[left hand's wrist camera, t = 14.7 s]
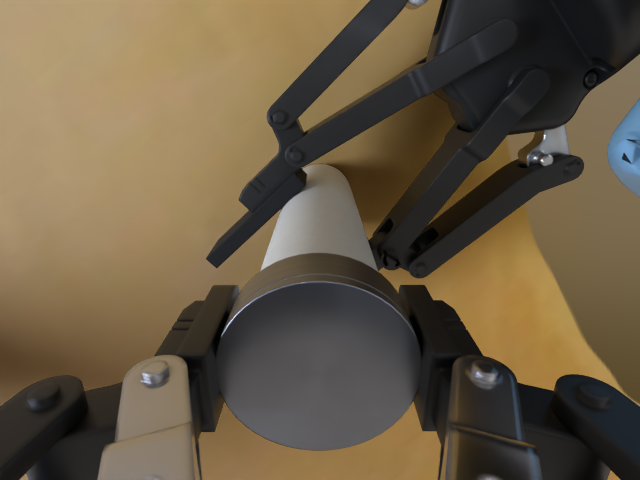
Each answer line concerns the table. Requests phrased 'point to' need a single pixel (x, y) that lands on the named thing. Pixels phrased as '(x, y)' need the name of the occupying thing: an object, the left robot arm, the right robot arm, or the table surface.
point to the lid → (318, 353)
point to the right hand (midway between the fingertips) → (251, 282)
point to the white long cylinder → (320, 220)
